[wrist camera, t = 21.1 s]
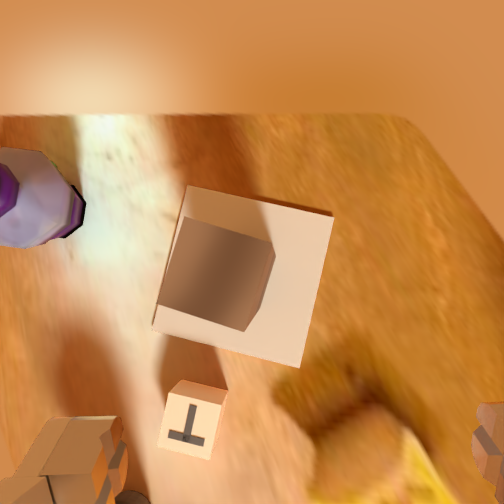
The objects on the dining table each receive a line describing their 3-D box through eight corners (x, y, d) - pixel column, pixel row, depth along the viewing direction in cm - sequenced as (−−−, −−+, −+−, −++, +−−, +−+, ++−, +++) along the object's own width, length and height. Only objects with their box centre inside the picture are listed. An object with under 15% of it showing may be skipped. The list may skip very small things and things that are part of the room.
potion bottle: (90, 156, 41) (11, 106, 29) (111, 241, 40) (38, 227, 28) (8, 179, 41) (-104, 140, 29) (26, 264, 41) (-80, 260, 29)
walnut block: (276, 256, 38) (271, 242, 22) (259, 308, 38) (244, 332, 22) (224, 240, 39) (184, 216, 23) (208, 292, 39) (156, 303, 23)
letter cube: (228, 390, 39) (221, 405, 34) (218, 438, 38) (209, 460, 34) (181, 378, 39) (168, 392, 34) (171, 426, 39) (156, 447, 34)
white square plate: (333, 218, 39) (334, 217, 38) (299, 366, 38) (299, 368, 38) (188, 185, 40) (187, 184, 39) (153, 329, 39) (151, 330, 39)
